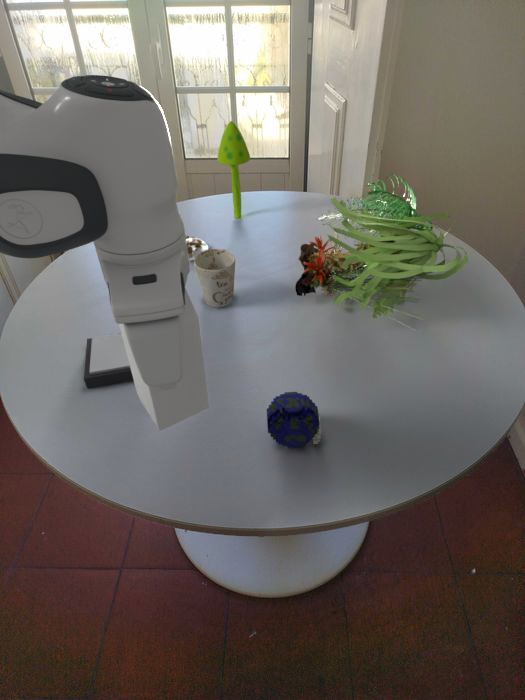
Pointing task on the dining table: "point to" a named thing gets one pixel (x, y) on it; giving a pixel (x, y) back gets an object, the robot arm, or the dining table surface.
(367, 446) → the dining table surface
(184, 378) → the milk carton
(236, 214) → the mushroom
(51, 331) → the dining table surface
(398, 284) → the plant
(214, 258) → the mug
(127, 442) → the dining table surface
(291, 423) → the ball
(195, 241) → the plate of food scraps
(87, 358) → the scale
